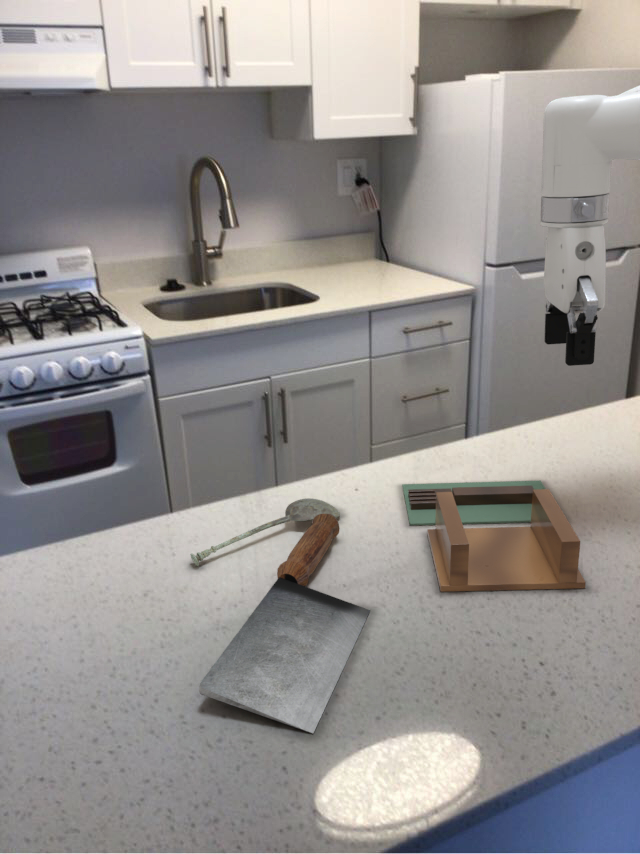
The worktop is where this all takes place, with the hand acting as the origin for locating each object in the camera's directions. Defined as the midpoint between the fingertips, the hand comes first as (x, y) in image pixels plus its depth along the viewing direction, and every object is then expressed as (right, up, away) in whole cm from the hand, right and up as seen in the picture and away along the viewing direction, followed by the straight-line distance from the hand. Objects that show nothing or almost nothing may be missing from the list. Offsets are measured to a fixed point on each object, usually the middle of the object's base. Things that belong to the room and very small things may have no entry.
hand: (567, 353), depth 94 cm
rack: (-9, -25, -4) cm, 27 cm away
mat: (-9, -20, +10) cm, 24 cm away
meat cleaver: (-31, -29, -12) cm, 45 cm away
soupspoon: (-38, -24, +4) cm, 44 cm away
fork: (-10, -19, +10) cm, 24 cm away
